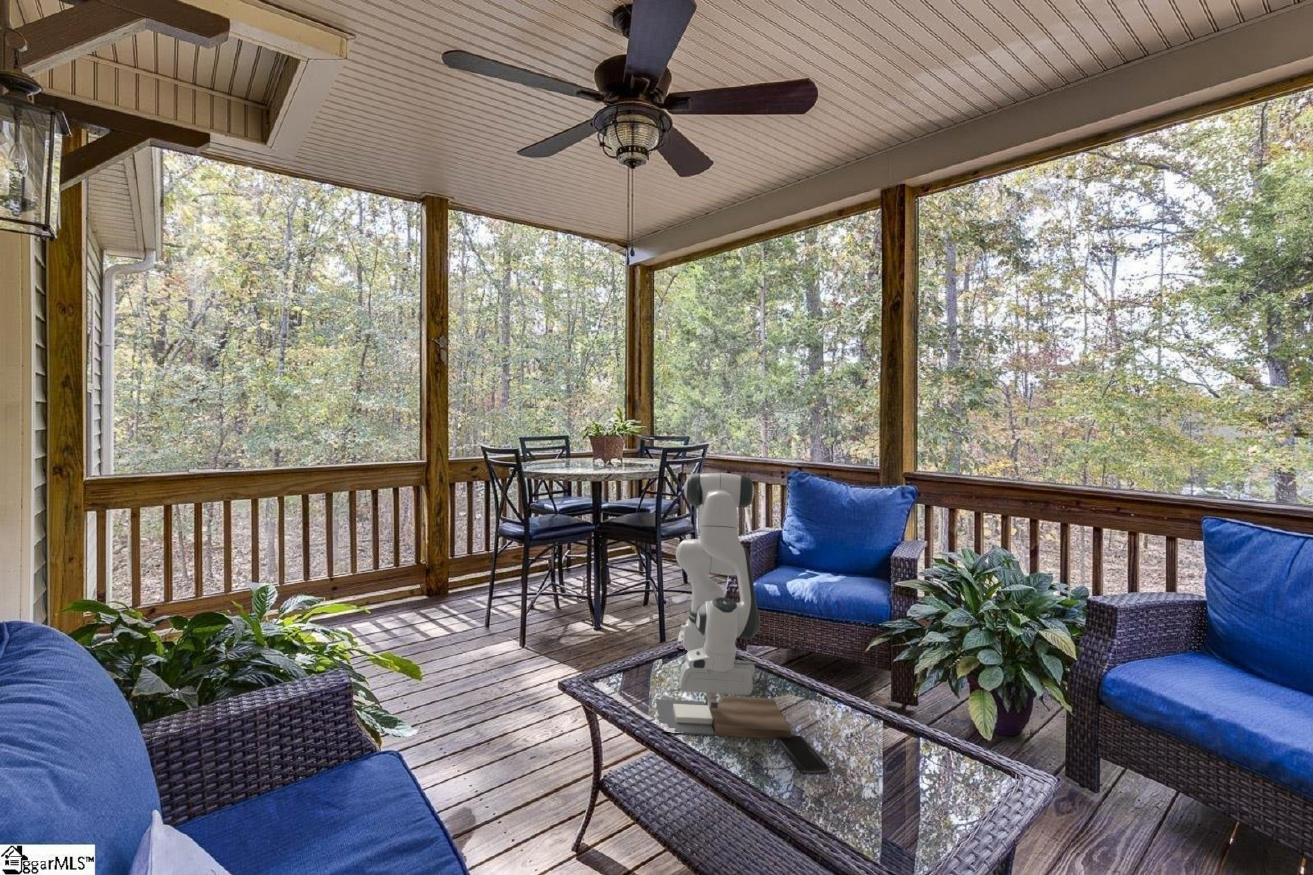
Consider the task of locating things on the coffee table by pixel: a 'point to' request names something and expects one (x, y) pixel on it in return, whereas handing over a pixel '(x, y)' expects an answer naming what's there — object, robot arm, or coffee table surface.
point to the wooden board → (748, 718)
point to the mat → (668, 717)
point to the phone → (802, 755)
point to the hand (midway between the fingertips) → (713, 707)
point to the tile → (692, 713)
